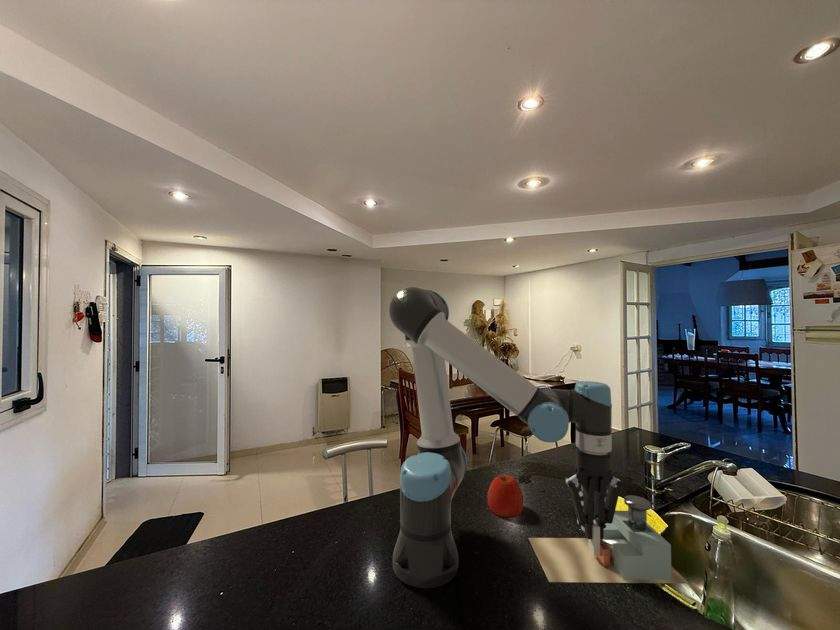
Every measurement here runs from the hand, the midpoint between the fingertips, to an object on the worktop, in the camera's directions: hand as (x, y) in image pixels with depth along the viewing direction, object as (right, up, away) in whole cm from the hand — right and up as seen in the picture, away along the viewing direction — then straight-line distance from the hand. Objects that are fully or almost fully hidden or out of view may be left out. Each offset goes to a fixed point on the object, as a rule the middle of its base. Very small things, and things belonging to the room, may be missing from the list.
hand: (594, 552), depth 81 cm
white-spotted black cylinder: (+6, -3, +12) cm, 14 cm away
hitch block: (+8, -1, 0) cm, 8 cm away
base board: (+2, -2, 0) cm, 3 cm away
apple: (-15, -3, +21) cm, 26 cm away
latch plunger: (+10, +6, 0) cm, 12 cm away
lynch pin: (+7, -1, 0) cm, 8 cm away
